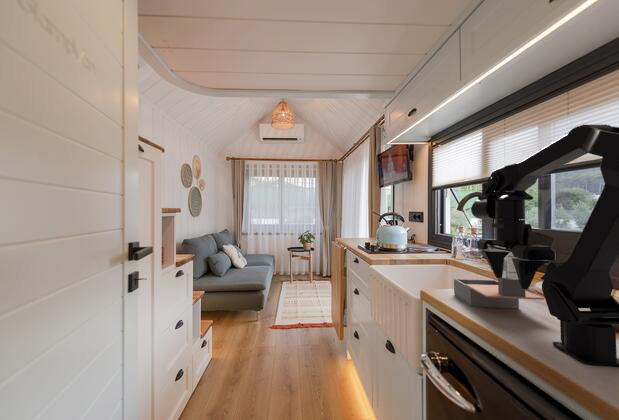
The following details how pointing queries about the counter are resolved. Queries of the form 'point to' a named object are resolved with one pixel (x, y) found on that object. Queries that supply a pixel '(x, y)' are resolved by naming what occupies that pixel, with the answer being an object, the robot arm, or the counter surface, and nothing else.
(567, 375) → the counter surface
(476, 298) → the grey open tray
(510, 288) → the lid
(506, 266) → the syrup box
